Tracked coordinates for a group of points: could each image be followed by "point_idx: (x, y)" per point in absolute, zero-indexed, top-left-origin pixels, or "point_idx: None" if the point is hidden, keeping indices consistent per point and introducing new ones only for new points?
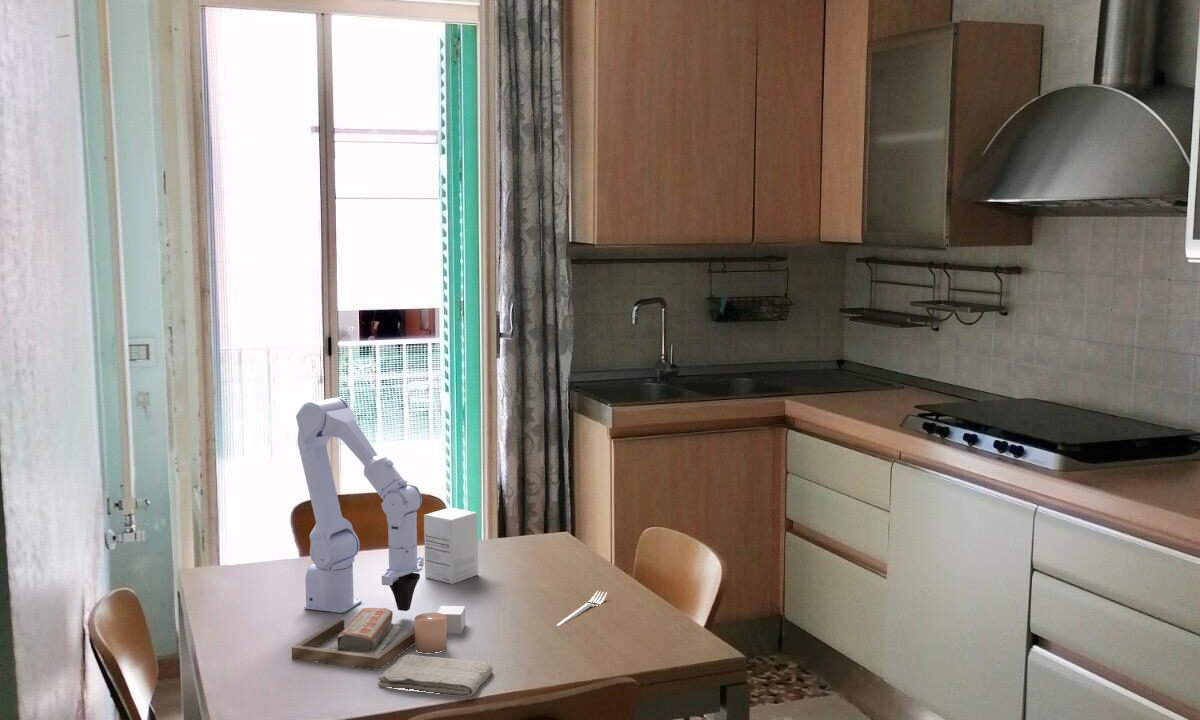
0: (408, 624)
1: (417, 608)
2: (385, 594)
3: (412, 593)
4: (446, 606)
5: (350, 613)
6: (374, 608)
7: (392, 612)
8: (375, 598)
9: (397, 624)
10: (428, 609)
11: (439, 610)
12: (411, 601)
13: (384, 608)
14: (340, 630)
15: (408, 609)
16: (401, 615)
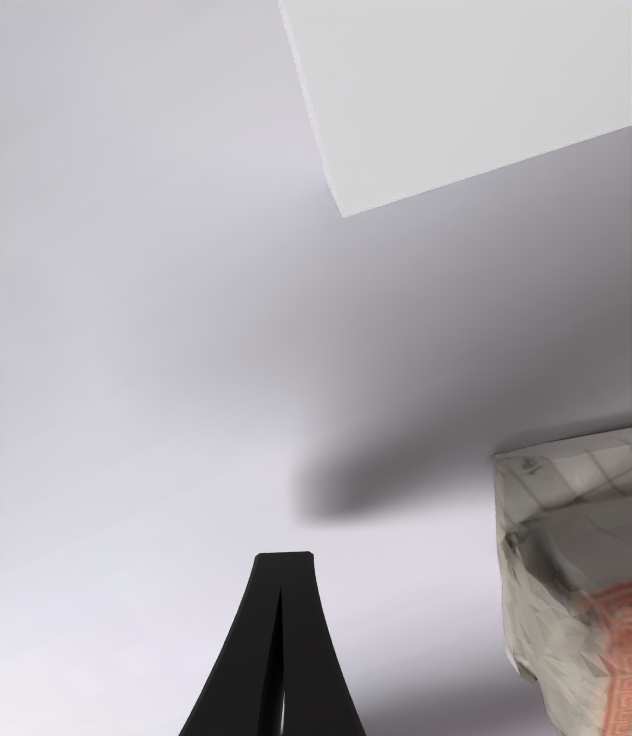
0: (412, 442)
1: (74, 533)
2: (2, 722)
3: (224, 703)
4: (340, 71)
5: None
6: (609, 729)
7: (621, 608)
8: (84, 727)
9: (517, 491)
10: (39, 467)
11: (629, 91)
12: (242, 610)
13: (607, 688)
14: None
15: (282, 555)
16: (253, 551)
